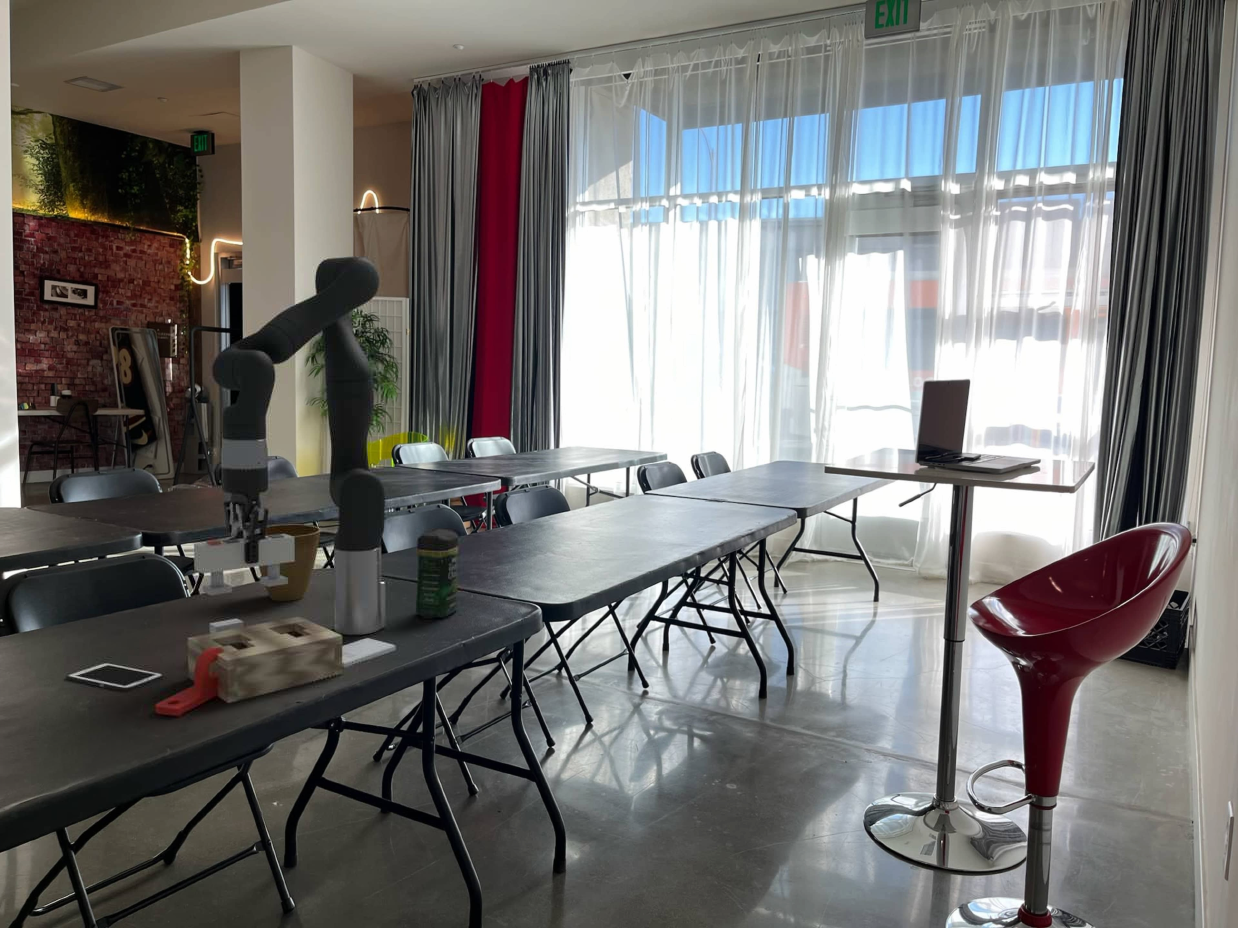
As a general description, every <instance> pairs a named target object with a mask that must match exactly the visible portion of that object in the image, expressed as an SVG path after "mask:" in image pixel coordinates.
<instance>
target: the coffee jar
mask: <svg viewBox="0 0 1238 928" xmlns="http://www.w3.org/2000/svg"><path fill="white" fill-rule="evenodd" d="M416 552H417V553H416V554H417V586H416V589H417V590H416V600H415V605H416V606H415V612H416V614H417V615H418V616H421V617H423V618H426V619H434V618H445V617H447V616H450V615H452V614H454V613H455V612H456V611H457V610H458V607H459V605H458V602H459V601H458V578H457V577H458V574H457V573H458V572H457V571H458V562H457V561H458V552H459V536H458V534H457V533H456V532H455V530H450V529H440V528H437V530H434V531H431V532H428V533H424V534H421V536H418V538H417V544H416Z"/></svg>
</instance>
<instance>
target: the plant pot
mask: <svg viewBox="0 0 1238 928" xmlns="http://www.w3.org/2000/svg"><path fill="white" fill-rule="evenodd" d="M254 534H255V533H254ZM276 534H287V535H290V536H293V537H294V544H295V561H294V562H286V563H280V575H281V576H283V577H286V578H288V584H283V585H276V586H270V587H268V586H266V585H264V586H265V589H266V592H267V593H268V594H267V595H268V596H269V598H270V599H271V600H272V601H276V602H289V601H290V602H291V601H297V600H301V599H302V598H304V597H305V595H306V592H307V589H308V586H309V584H310V582H311V581H310V580H311V577H312V575H313V571H314V567H315V562H316V559H317V555H318V547H319V543H320V535H321V528H319V527H318V526H315V525H309V524H297V523H293V524H292V523H287V524H272V525H267V527H266V534H265V536H268V535H276ZM258 568H259V573H260V575H261V576H260V577H267V576H268V565H264V566H258Z"/></svg>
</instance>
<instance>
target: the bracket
mask: <svg viewBox="0 0 1238 928" xmlns="http://www.w3.org/2000/svg"><path fill="white" fill-rule="evenodd" d="M223 651H224V650H223V649H221V648H213V647H211V648H208V649H206V650H205V651H203V652H202V654H201V655H200V656H199V658H198V660H197V662H196V665H195V670H194V681H193V682H194V685H191V686H190V687H188V688H186V689H184V690H181V691H180V692H178V693H175V694H174V695H172V696H171V695H170V697H167V698H166V699H163V700H161V701H159V702H158V703H156V704H155V714H158V715H164V716H166V715H167V716H174V717H180V716H182V715H183V714H185V713H186V712H189V711H190V710H192V709H195V708H196V707H198V706H200V705H202V704H204V703H205V702H206V703H207V701H209V700H211V699H213V698H215V697H218V696H217V695H218V685H217V675H216V674H215V672H214V671H213V673H212V675H211V676H209V667H210V665H211V663H212V662H214V661H216V660H217V654H219V653H221V652H223Z"/></svg>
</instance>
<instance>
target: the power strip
mask: <svg viewBox="0 0 1238 928" xmlns="http://www.w3.org/2000/svg"><path fill="white" fill-rule="evenodd" d="M244 543H245V542H244V538H242V539H234V538H232V539H230V538H229V539H224V540H219V539H211V540H209V539H208V540H206V542H200V543H199V542H197V543H194V544H193V551H194V553H193V555H194V556H193V557H194V558H193V561H194V563H193V564H194V567H193V568H194V570H195V571H197V572H199V573H201V574H203V575H204V574H210V584H205V585H202V592H203V593H205V594H207V595H209V596H216V595H217V596H218V595H223V594H230V593H233V586H232V585H229V584H227V583H225V582H224V572H226V571H232V570H233V571H234V570H241V569H249V568H254V567H259V566H264V565H268V576H267V577H262V576H260V577H259V584H261V585H264V586H265V585H266V586H268V587H270V586H276V585H283V584H288V578H286V577H283V576H281V575H280V563H286V562H294V561H295V544H294V537H293V536H290V535H287V534H276V535H268V536H265V539H264V540H260V542H258V544H259V561H258V562H257V563H253V564H247V563H245V558H244Z"/></svg>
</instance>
